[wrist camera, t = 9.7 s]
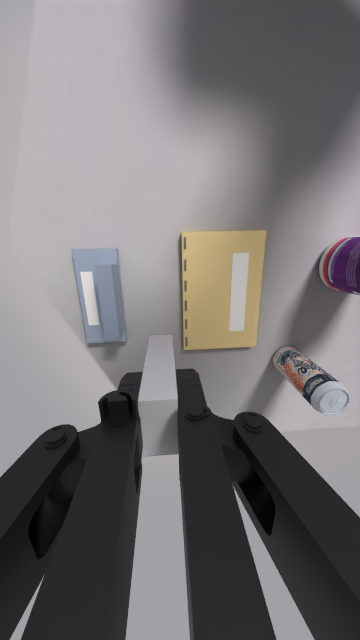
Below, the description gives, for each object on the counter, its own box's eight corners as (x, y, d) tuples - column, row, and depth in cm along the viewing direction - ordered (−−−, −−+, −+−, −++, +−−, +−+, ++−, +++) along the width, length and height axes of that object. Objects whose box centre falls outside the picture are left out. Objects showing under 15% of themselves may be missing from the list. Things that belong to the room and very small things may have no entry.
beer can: (291, 340, 38) (346, 379, 26) (301, 360, 39) (357, 406, 28) (267, 354, 38) (310, 398, 27) (277, 373, 40) (323, 423, 28)
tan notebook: (181, 232, 31) (181, 231, 30) (262, 230, 32) (266, 230, 31) (183, 347, 37) (184, 350, 36) (253, 343, 38) (256, 346, 36)
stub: (74, 249, 31) (58, 249, 26) (117, 248, 31) (108, 248, 26) (89, 340, 35) (77, 355, 30) (127, 339, 36) (121, 352, 31)
